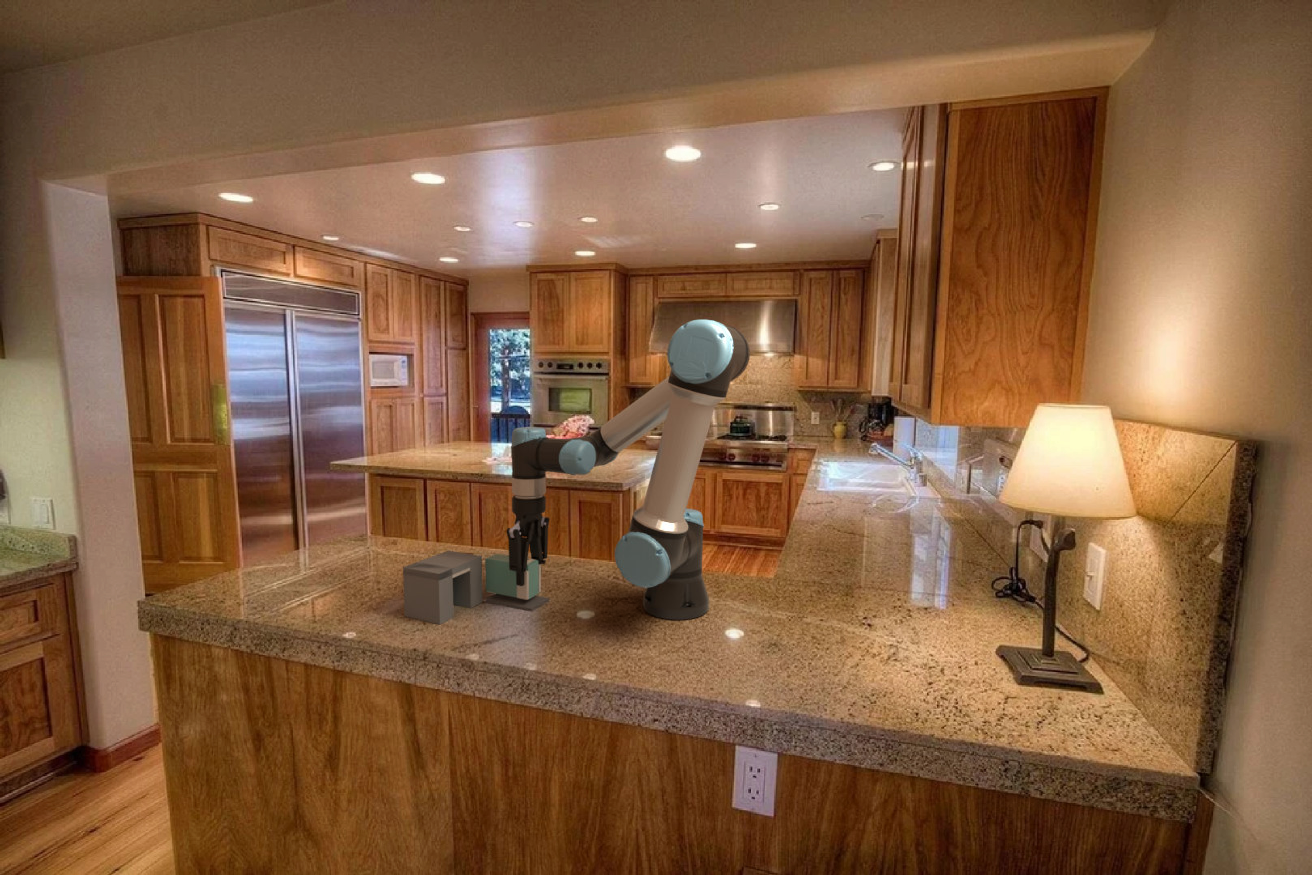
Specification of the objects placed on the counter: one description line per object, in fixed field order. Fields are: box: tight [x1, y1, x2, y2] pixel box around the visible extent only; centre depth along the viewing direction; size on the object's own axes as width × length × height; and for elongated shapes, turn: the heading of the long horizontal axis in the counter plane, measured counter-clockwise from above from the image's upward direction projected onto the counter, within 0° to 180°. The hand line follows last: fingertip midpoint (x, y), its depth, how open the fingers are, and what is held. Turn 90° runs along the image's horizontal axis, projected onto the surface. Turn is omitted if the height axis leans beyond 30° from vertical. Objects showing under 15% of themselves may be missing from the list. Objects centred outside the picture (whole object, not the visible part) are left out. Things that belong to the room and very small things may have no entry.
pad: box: [484, 593, 550, 612], centre depth 134 cm, size 13×7×1 cm, turn 67°
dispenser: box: [402, 550, 484, 625], centre depth 128 cm, size 10×14×11 cm
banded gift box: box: [484, 553, 539, 600], centre depth 134 cm, size 12×4×8 cm, turn 68°
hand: (529, 594), depth 132 cm, fingers closed on banded gift box, 4 cm apart
